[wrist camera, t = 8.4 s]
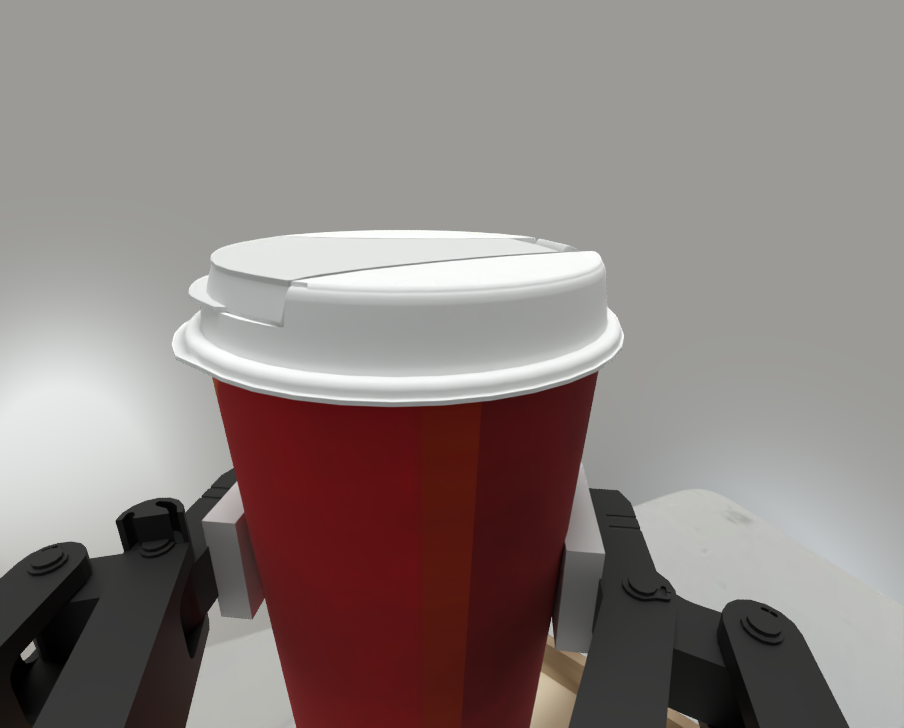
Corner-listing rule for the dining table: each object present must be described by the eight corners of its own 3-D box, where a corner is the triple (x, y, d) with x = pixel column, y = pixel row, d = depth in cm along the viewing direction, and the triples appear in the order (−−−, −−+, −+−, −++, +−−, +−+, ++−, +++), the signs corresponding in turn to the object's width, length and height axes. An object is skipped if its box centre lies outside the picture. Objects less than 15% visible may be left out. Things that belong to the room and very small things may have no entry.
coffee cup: (489, 612, 20) (510, 224, 14) (618, 867, 12) (756, 274, 7) (267, 675, 17) (192, 229, 12) (266, 1045, 10) (70, 316, 4)
